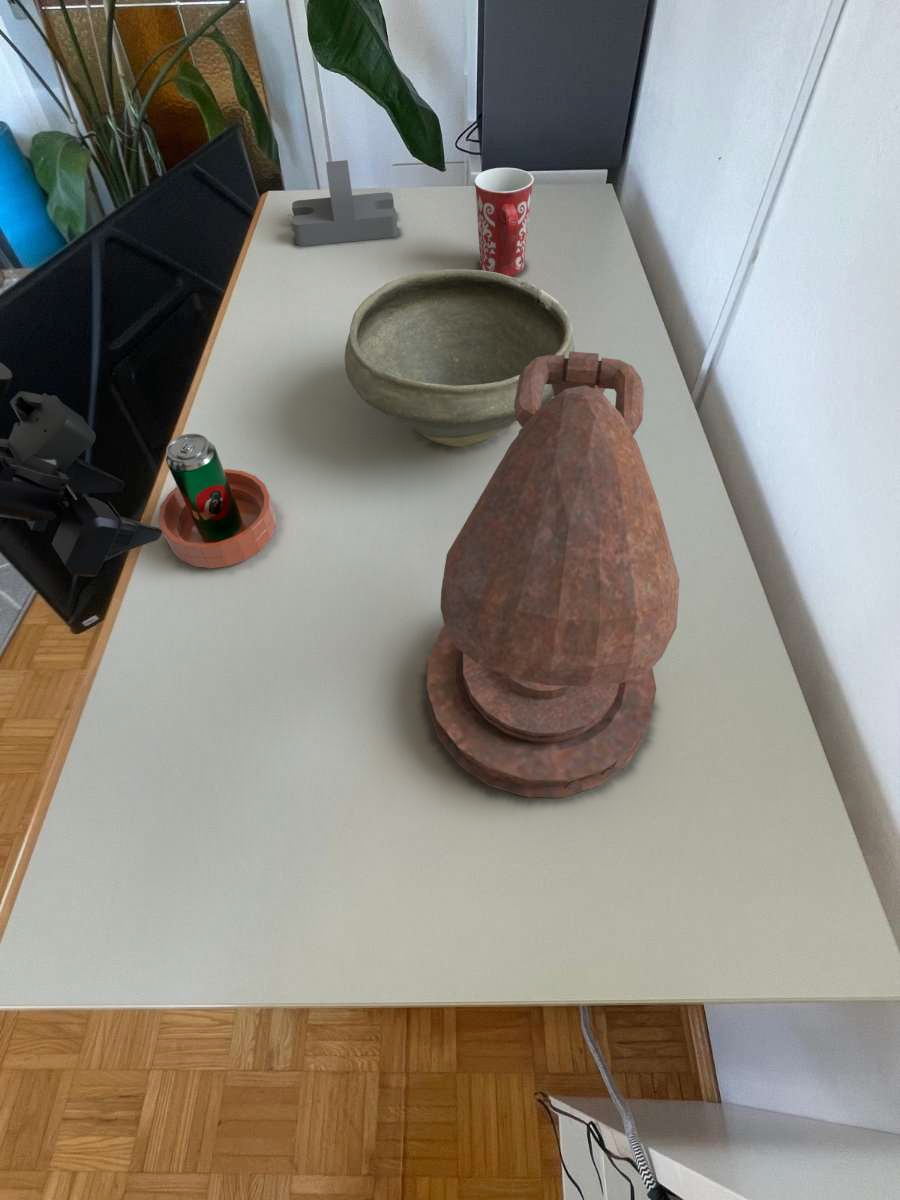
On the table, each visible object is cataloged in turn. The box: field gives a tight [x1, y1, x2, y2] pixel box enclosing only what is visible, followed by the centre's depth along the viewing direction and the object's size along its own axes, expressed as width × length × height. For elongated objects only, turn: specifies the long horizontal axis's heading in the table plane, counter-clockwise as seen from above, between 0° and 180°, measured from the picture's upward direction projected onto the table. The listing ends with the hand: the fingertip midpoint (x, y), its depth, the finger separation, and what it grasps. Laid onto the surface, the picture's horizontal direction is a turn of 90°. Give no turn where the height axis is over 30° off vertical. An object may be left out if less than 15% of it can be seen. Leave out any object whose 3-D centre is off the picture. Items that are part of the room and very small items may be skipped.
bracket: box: [291, 159, 399, 247], centre depth 121 cm, size 10×18×11 cm, turn 98°
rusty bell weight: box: [426, 351, 680, 798], centre depth 50 cm, size 21×32×40 cm, turn 170°
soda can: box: [165, 433, 242, 541], centre depth 76 cm, size 5×5×12 cm
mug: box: [473, 167, 535, 277], centre depth 109 cm, size 13×9×14 cm
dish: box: [157, 468, 277, 569], centre depth 79 cm, size 12×12×4 cm
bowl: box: [344, 268, 576, 448], centre depth 87 cm, size 28×28×14 cm
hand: (140, 509), depth 72 cm, fingers open, 9 cm apart
